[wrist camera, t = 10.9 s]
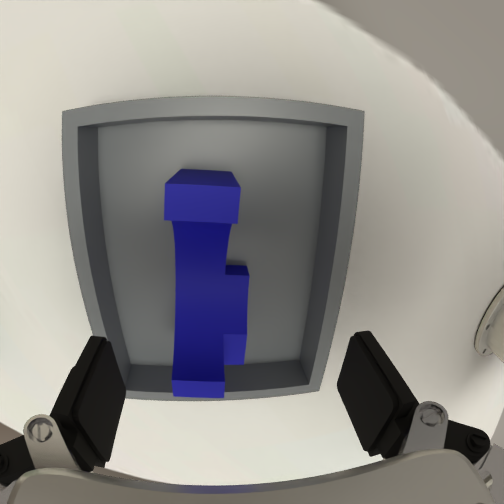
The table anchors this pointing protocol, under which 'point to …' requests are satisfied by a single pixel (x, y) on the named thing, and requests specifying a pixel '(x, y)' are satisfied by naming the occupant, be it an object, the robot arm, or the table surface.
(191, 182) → the blue long angular piece
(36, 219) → the table surface
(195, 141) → the gray tray
